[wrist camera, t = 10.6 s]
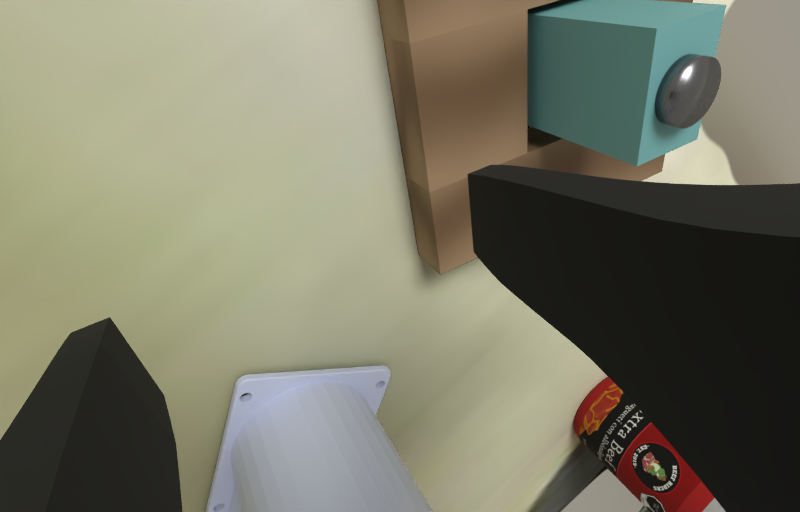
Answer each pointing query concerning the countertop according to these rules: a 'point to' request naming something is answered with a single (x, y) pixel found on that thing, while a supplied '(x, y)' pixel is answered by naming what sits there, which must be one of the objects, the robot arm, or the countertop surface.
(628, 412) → the canned food
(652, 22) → the post
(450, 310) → the countertop surface
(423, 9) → the slot plate
